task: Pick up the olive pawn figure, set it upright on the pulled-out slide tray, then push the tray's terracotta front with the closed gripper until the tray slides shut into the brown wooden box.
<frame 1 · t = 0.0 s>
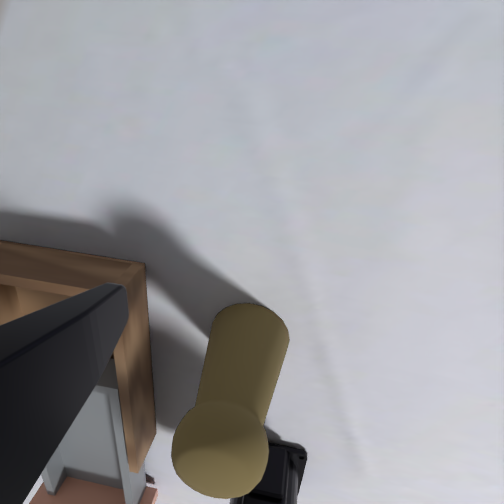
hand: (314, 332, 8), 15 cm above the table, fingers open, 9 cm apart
olive pawn figure: (250, 334, 28), on the table
tray: (83, 445, 33), point 3 cm above the table, slide at 8.0 cm
brown wooden box: (87, 352, 31), on the table
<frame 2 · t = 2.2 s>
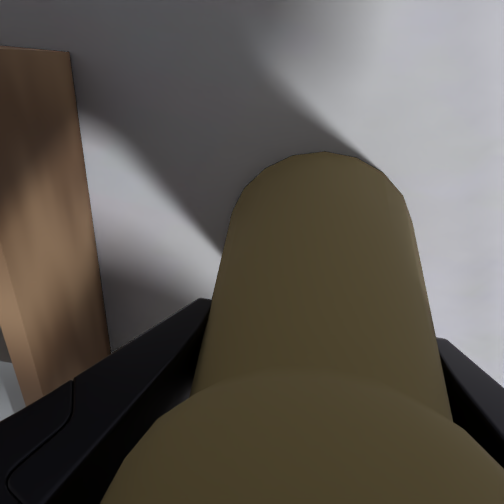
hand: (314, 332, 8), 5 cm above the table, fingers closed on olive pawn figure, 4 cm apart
olive pawn figure: (316, 240, 12), on the table, touching gripper
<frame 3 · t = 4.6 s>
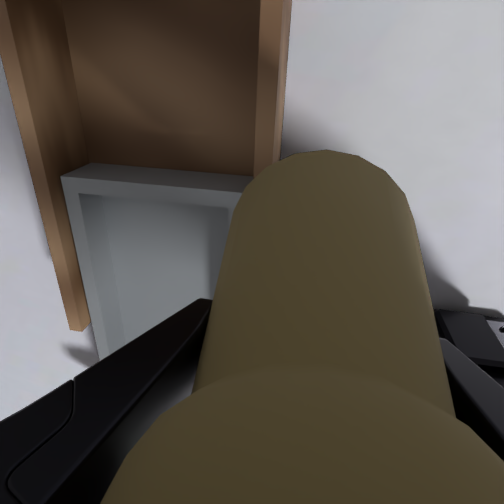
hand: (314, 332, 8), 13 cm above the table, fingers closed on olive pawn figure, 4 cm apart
olive pawn figure: (318, 238, 12), point 8 cm above the table, touching gripper
tray: (169, 328, 23), point 3 cm above the table, slide at 8.0 cm
brown wooden box: (175, 176, 21), on the table
when the fingers open (7 cm above the table, at t = 6.9 s): olive pawn figure stays where it is, resting on tray.
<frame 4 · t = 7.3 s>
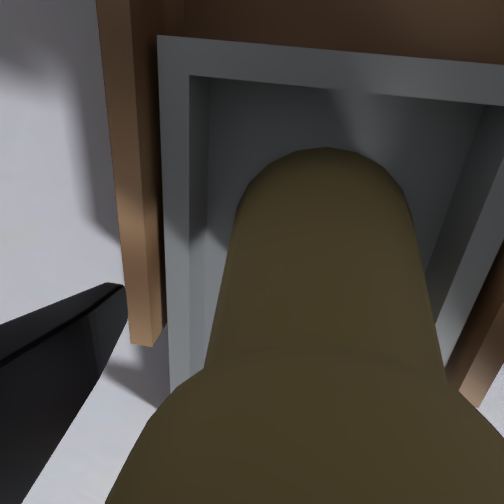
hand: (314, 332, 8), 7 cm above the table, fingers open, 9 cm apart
olive pawn figure: (319, 233, 13), point 1 cm above the table, touching tray
tray: (297, 346, 13), point 3 cm above the table, slide at 8.0 cm, touching olive pawn figure
brown wooden box: (341, 76, 12), on the table
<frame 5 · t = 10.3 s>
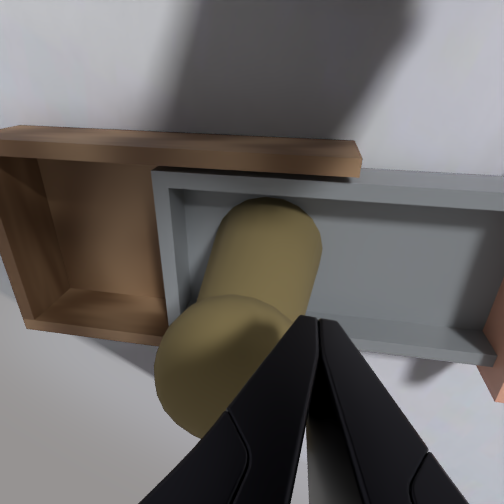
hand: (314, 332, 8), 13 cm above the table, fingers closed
olive pawn figure: (268, 246, 21), point 1 cm above the table, touching tray
tray: (341, 267, 19), point 3 cm above the table, slide at 8.0 cm, touching olive pawn figure
brown wooden box: (191, 231, 22), on the table
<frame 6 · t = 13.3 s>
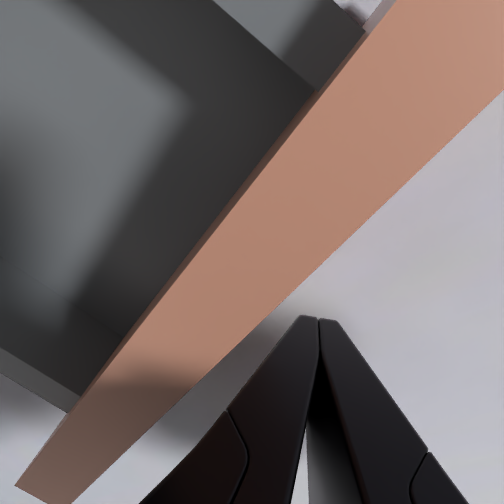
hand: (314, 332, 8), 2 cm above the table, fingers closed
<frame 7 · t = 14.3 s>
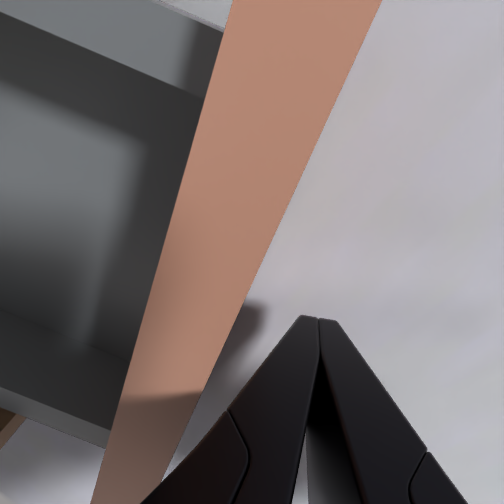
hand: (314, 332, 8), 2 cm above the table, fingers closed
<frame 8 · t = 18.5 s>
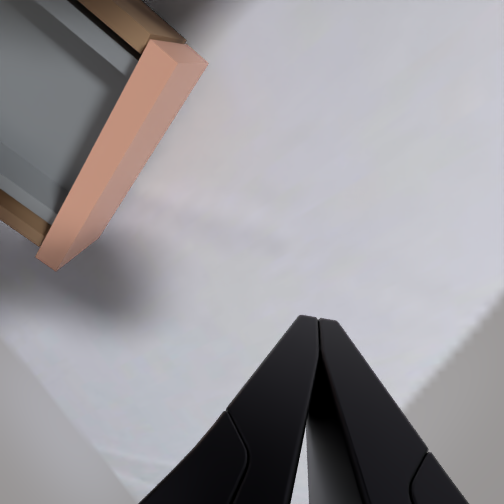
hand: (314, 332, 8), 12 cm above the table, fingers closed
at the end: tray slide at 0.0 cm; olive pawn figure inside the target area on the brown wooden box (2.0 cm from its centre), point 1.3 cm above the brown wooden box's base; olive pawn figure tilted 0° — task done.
